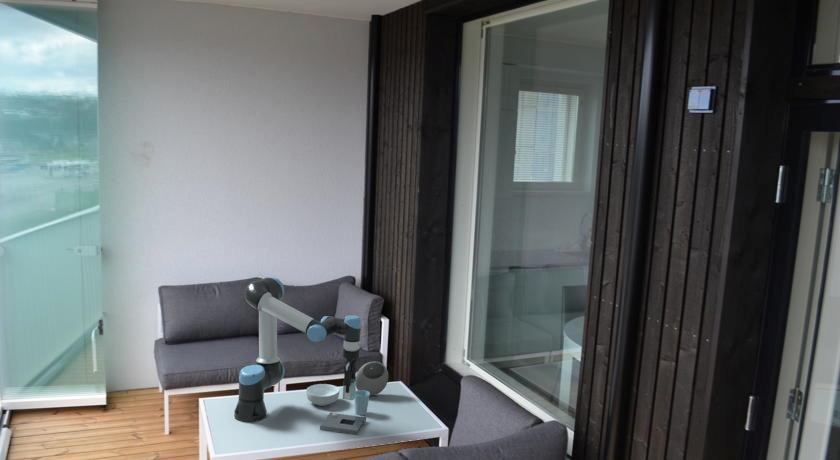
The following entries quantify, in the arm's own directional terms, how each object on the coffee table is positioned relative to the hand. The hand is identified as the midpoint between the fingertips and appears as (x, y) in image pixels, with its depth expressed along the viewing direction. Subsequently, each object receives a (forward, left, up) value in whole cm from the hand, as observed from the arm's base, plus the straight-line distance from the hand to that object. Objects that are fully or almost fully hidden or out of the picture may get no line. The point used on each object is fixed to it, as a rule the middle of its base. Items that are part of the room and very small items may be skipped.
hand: (348, 396), depth 330 cm
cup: (+2, +17, -15) cm, 23 cm away
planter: (+1, +41, -15) cm, 44 cm away
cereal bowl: (-20, +23, -15) cm, 34 cm away
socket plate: (-2, 0, -14) cm, 15 cm away
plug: (0, 0, -1) cm, 1 cm away
